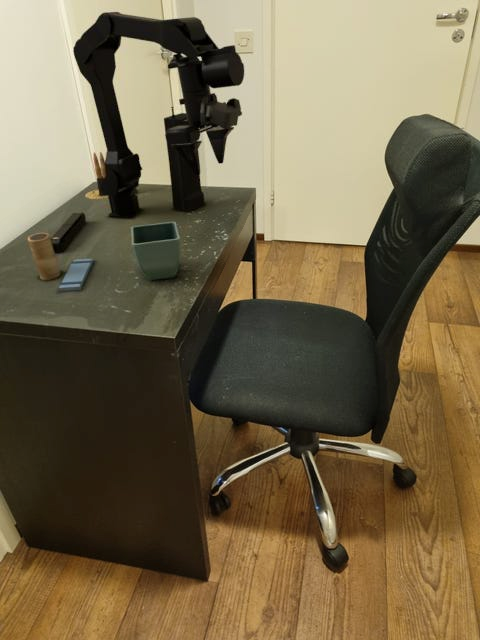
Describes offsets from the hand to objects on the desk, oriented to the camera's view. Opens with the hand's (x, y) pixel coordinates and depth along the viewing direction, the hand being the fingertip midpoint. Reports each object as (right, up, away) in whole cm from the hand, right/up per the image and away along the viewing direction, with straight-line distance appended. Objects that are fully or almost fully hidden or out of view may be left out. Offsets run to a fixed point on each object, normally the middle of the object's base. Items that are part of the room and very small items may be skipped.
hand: (209, 168), depth 103 cm
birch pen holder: (-32, -24, -7) cm, 41 cm away
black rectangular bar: (-34, -13, +9) cm, 38 cm away
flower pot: (-9, -24, -9) cm, 27 cm away
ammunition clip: (-29, +4, +34) cm, 45 cm away
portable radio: (-7, -3, +23) cm, 24 cm away
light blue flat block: (-26, -24, -8) cm, 37 cm away
